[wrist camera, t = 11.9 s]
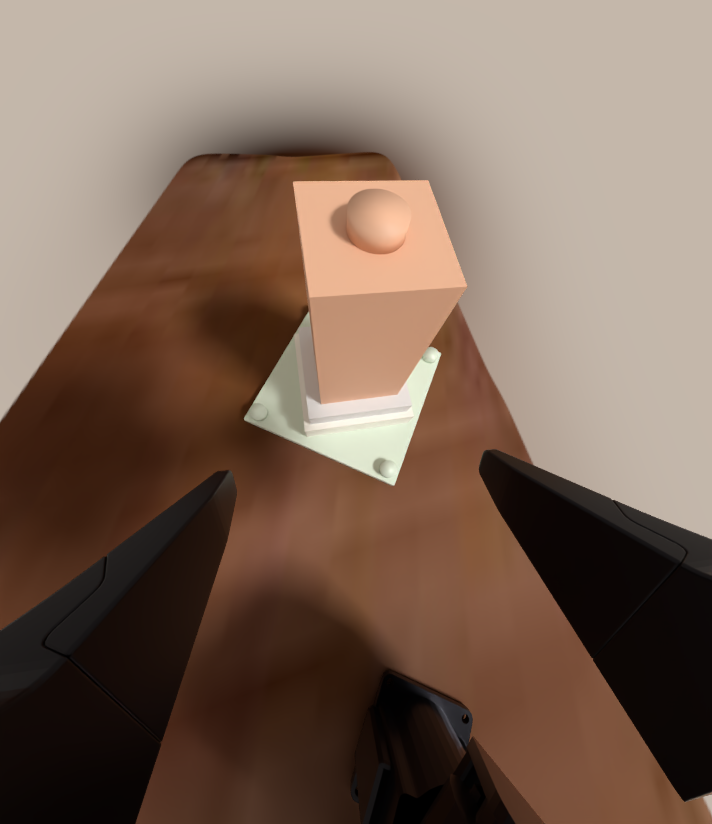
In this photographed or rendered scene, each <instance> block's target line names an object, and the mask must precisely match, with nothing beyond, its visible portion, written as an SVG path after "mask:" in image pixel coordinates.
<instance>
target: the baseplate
mask: <svg viewBox="0 0 712 824" xmlns="http://www.w3.org/2000/svg"><path fill="white" fill-rule="evenodd" d="M300 327H311V325H310V316H309V312H308V313H307V315H306V317H305V318H304V320H303V322H302V323H301V325H300ZM300 327H299V328H300ZM298 333H299V331H298V330H297V331H296V333H295V334H298ZM440 355H441V353H440V352H438V351H437V350H436V349H435V348H433V347H429V348H427V350H426V351H425V353H424V354H423V356H422V357H421V359H420V361H419V362H418V364H417V365H416V367H415V368H414V370H413V371H412V373H411V374H410V376H409V378H408V379H407V381H406V382H407V386H408V391H409V395H410V399H411V403H412V411H413V415H414V417H413V418H412V419H411V420H410V421H409V422H408V423H403V424H396V425H389V426H382V427H375V428H368V429H361V430H354V431H347V432H340V433H333V434H326V435H319V436H312V437H307V436H306V433H305V428H304V420H303V411H302V402H301V393H300V384H299V375H298V366H297V357H296V348H295V339H294V336H293V338H292V340H291V341H290V343H289V345H288V346H287V348H286V350H285V351H284V353H283V355H282V356H281V358H280V360H279V361H278V363H277V365H276V366H275V368H274V369H273V371H272V373H271V374H270V376H269V378H268V379H267V381H266V383H265V384H264V386H263V388H262V389H261V391H260V393H259V394H258V396H257V398H256V399H255V401H254V403H253V404H252V406H251V407H250V409H249V411H248V412H247V414H246V416H245V417H244V420H245V421H246V422H248V423H250V424H253V425H255V426H257V427H259V428H262V429H264V430H266V431H269V432H271V433H273V434H275V435H278V436H280V437H282V438H284V439H287V440H289V441H291V442H293V443H296V444H298V445H300V446H302V447H305V448H307V449H309V450H311V451H314V452H316V453H318V454H321V455H323V456H325V457H327V458H330V459H332V460H334V461H336V462H339V463H341V464H343V465H345V466H348V467H350V468H352V469H354V470H357V471H359V472H361V473H364V474H366V475H368V476H370V477H373V478H375V479H377V480H379V481H382V482H384V483H386V484H388V485H391V486H394V485H395V482H396V479H397V476H398V473H399V471H400V468H401V465H402V462H403V459H404V457H405V454H406V451H407V448H408V445H409V443H410V440H411V437H412V434H413V431H414V428H415V426H416V423H417V420H418V417H419V414H420V412H421V409H422V406H423V403H424V400H425V398H426V395H427V392H428V389H429V386H430V383H431V381H432V378H433V375H434V372H435V369H436V367H437V364H438V361H439V358H440Z"/></svg>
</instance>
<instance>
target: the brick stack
mask: <svg viewBox="0 0 712 824" xmlns="http://www.w3.org/2000/svg"><path fill="white" fill-rule="evenodd" d="M298 331H299V333H298V334H294V339H295V348H296V357H297V366H298V375H299V384H300V393H301V402H302V411H303V420H304V428H305V433H306V436H307V437H312V436H319V435H326V434H333V433H340V432H347V431H354V430H361V429H368V428H375V427H382V426H389V425H396V424H403V423H408V422H409V421H410V420H411V419H412V418H413V417H414V415H413V411H412V403H411V399H410V395H409V391H408V386H407V382H405V384H404V385H403V387H402V388H401V390H400V391H399V393H398V395H391V396H383V397H375V398H367V399H359V400H351V401H344V402H336V403H328V404H321V399H320V392H319V385H318V377H317V370H316V363H315V355H314V348H313V340H312V333H311V327H300V328H298Z"/></svg>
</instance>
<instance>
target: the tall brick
mask: <svg viewBox="0 0 712 824" xmlns="http://www.w3.org/2000/svg"><path fill="white" fill-rule="evenodd" d="M293 185H294V193H295V202H296V210H297V218H298V226H299V234H300V243H301V251H302V259H303V267H304V275H305V284H306V292H307V300H308V308H309V316H310V325H311V333H312V340H313V348H314V355H315V363H316V370H317V377H318V385H319V392H320V399H321V404H328V403H336V402H344V401H351V400H359V399H367V398H375V397H383V396H391V395H398V393H399V391H400V390H401V388H402V387H403V385H404V384H405V382H406V381H407V379H408V378H409V376H410V374H411V373H412V371H413V370H414V368H415V367H416V365H417V364H418V362H419V361H420V359H421V357H422V356H423V354H424V353H425V351H426V350H427V348H428V347H429V345H430V344H431V342H432V340H433V339H434V337H435V336H436V334H437V333H438V331H439V330H440V328H441V327H442V325H443V323H444V322H445V320H446V319H447V317H448V316H449V314H450V313H451V311H452V310H453V308H454V306H455V305H456V303H457V302H458V300H459V299H460V297H461V296H462V294H463V293H464V291H465V289H466V288H467V284H466V282H465V279H464V276H463V274H462V271H461V268H460V265H459V263H458V260H457V257H456V255H455V252H454V249H453V246H452V244H451V241H450V238H449V236H448V233H447V230H446V227H445V225H444V222H443V219H442V217H441V214H440V211H439V208H438V206H437V203H436V201H435V198H434V195H433V192H432V190H431V187H430V184H429V181H428V180H426V181H425V180H424V181H303V182H293Z"/></svg>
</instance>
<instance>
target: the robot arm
mask: <svg viewBox="0 0 712 824" xmlns="http://www.w3.org/2000/svg"><path fill="white" fill-rule="evenodd" d="M479 473H480V475H481V477H482V479H483V481H484V483H485V485H486V487H487V489H488V491H489V493H490V495H491V497H492V499H493V501H494V503H495V505H496V507H497V509H498V511H499V512H500V514H501V516H502V517H503V519H504V520H505V522H506V523H507V525H508V527H509V528H510V530H511V531H512V533H513V535H514V536H515V538H516V539H517V541H518V542H519V544H520V546H521V547H522V549H523V550H524V552H525V553H526V555H527V557H528V558H529V560H530V561H531V563H532V564H533V566H534V568H535V569H536V571H537V572H538V574H539V576H540V577H541V579H542V580H543V582H544V583H545V585H546V587H547V588H548V590H549V591H550V593H551V594H552V596H553V598H554V599H555V601H556V602H557V604H558V605H559V607H560V609H561V610H562V612H563V613H564V615H565V617H566V618H567V620H568V621H569V623H570V624H571V626H572V628H573V629H574V631H575V632H576V634H577V635H578V637H579V639H580V640H581V642H582V643H583V645H584V646H585V648H586V650H587V651H588V653H589V654H590V656H591V657H592V658H593V661H594V663H595V664H596V666H597V667H598V669H599V670H600V672H601V674H602V675H603V677H604V678H605V680H606V681H607V683H608V685H609V686H610V688H611V689H612V691H613V693H614V694H615V696H616V697H617V699H618V700H619V702H620V704H621V705H622V707H623V708H624V710H625V711H626V713H627V715H628V716H629V718H630V719H631V721H632V723H633V724H634V726H635V727H636V729H637V730H638V732H639V734H640V735H641V737H642V738H643V740H644V741H645V743H646V745H647V746H648V748H649V749H650V751H651V753H652V754H653V756H654V757H655V759H656V760H657V762H658V764H659V765H660V767H661V768H662V770H663V771H664V773H665V775H666V776H667V778H668V779H669V781H670V782H671V784H672V785H673V787H674V788H675V790H676V791H677V793H678V794H679V795H680V797H681V798H682V800H683V801H684V802H687V801H690V800H694V799H697V798H701V797H704V796H708V795H711V794H712V539H709V538H707V537H704V536H701V535H699V534H696V533H694V532H691V531H689V530H686V529H683V528H681V527H678V526H676V525H673V524H671V523H668V522H666V521H663V520H661V519H658V518H656V517H653V516H651V515H648V514H646V513H643V512H641V511H639V510H636V509H634V508H632V507H629V506H627V505H625V504H622V503H620V502H618V501H615V500H611V499H610V498H608V497H606V496H603V495H601V494H599V493H596V492H594V491H592V490H590V489H587V488H585V487H582V486H580V485H578V484H576V483H573V482H571V481H569V480H566V479H564V478H562V477H559V476H557V475H555V474H552V473H550V472H548V471H545V470H543V469H541V468H538V467H536V466H534V465H531V464H529V463H527V462H524V461H522V460H520V459H517V458H515V457H513V456H510V455H508V454H506V453H503V452H501V451H499V450H496V449H492V450H485V451H484V452H483V455H482V458H481V462H480V465H479ZM236 496H237V489H236V485H235V481H234V478H233V474H232V472H231V471H230V470H225V471H217V472H216V473H214V474H213V475H212V476H210V477H209V478H208V479H206V480H205V481H204V482H202V483H201V484H200V485H198V486H197V487H196V488H194V489H193V490H192V491H190V492H189V493H188V494H186V495H185V496H184V497H182V498H181V499H180V500H178V501H177V502H176V503H174V504H173V505H172V506H170V507H169V508H168V509H166V510H165V511H164V512H163V513H161V514H160V515H159V516H157V517H156V518H155V519H153V520H152V521H151V522H149V523H148V524H147V525H145V526H144V527H143V528H141V529H140V530H139V531H137V532H136V533H135V534H133V535H132V536H131V537H129V538H128V539H127V540H125V541H124V542H123V543H121V544H120V545H119V546H117V547H116V548H115V549H113V550H112V551H111V552H109V553H108V554H107V557H106V556H105V557H103V558H101V559H100V560H99V561H97V562H96V563H95V564H93V565H92V566H91V567H89V568H88V569H87V570H85V571H84V572H83V573H81V574H80V575H79V576H77V577H76V578H75V579H73V580H72V581H70V582H69V583H68V584H66V585H65V586H64V587H62V588H61V589H60V590H58V591H57V592H55V593H54V594H52V595H51V596H50V597H48V598H47V599H45V600H44V601H42V602H41V603H39V604H38V605H37V606H35V607H34V608H32V609H31V610H29V611H28V612H27V613H25V614H24V615H22V616H21V617H19V618H18V619H16V620H15V621H13V622H12V623H10V624H9V625H8V626H6V627H5V628H3V629H2V630H0V824H135V823H136V820H137V817H138V814H139V811H140V808H141V805H142V802H143V799H144V796H145V793H146V790H147V786H148V783H149V780H150V777H151V774H152V771H153V768H154V765H155V762H156V759H157V756H158V753H159V750H160V747H161V743H160V742H161V741H162V740H163V737H164V734H165V731H166V727H167V724H168V721H169V718H170V715H171V712H172V709H173V706H174V703H175V700H176V697H177V694H178V691H179V688H180V684H181V681H182V678H183V675H184V672H185V669H186V666H187V663H188V660H189V657H190V654H191V651H192V648H193V645H194V642H195V638H196V635H197V632H198V629H199V626H200V623H201V620H202V617H203V614H204V611H205V608H206V605H207V602H208V599H209V595H210V592H211V589H212V586H213V583H214V580H215V577H216V574H217V571H218V568H219V565H220V562H221V559H222V556H223V553H224V549H225V546H226V543H227V540H228V535H229V531H230V526H231V521H232V516H233V511H234V506H235V501H236ZM389 678H391V679H392V682H391V683H390V684H387V683H386V681H387V680H388V679H389ZM464 714H466V717H465V719H462V716H463V715H464ZM472 721H473V718H472V715H471V713H470V711H469V710H468V708H467V707H466V706H465V705H463V704H460V703H458V702H456V701H454V700H452V699H450V698H448V697H446V696H444V695H441V694H439V693H437V692H435V691H433V690H431V689H429V688H427V687H425V686H423V685H420V684H418V683H416V682H414V681H412V680H410V679H408V678H406V677H404V676H401V675H399V674H397V673H395V672H393V671H391V670H387V671H385V672H384V673H383V675H382V678H381V681H380V685H379V688H378V692H377V695H376V698H375V702H374V705H372V706H370V707H369V708H368V711H367V715H366V718H365V721H364V725H363V728H362V731H361V735H360V738H359V741H358V745H357V748H356V751H355V764H356V766H355V769H354V772H353V776H352V779H351V784H350V786H351V796H352V798H353V800H354V801H355V802H357V803H359V809H360V820H361V824H544V822H543V821H542V820H541V819H540V817H539V816H538V815H537V814H536V813H535V811H534V810H533V809H532V808H531V806H530V805H529V804H528V803H527V802H526V800H525V799H524V798H523V797H522V795H521V794H520V793H519V792H518V790H517V789H516V788H515V787H514V786H513V784H512V783H511V782H510V781H509V779H508V778H507V777H506V776H505V775H504V773H503V772H502V771H501V770H500V768H499V767H498V766H497V765H496V764H495V762H494V761H493V760H492V759H491V757H490V756H489V755H488V754H487V752H486V751H485V750H484V749H483V748H482V746H481V745H480V744H479V743H478V741H477V740H476V739H475V738H474V737H472V739H471V740H470V742H469V738H470V732H471V727H472ZM356 787H358V790H357V789H356Z"/></svg>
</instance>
